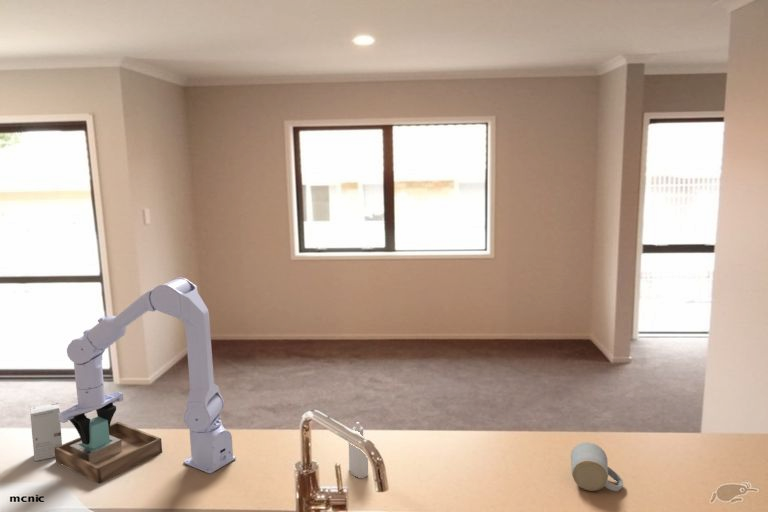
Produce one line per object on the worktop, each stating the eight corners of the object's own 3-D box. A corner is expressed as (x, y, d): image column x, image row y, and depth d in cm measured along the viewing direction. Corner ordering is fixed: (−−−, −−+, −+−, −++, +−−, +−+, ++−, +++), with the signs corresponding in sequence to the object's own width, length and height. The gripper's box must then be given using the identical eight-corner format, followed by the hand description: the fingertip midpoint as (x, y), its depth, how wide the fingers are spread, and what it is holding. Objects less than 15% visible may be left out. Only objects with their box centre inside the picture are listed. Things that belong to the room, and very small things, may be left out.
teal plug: (110, 447, 129) (107, 420, 128) (93, 454, 126) (91, 426, 125) (100, 443, 131) (98, 416, 130) (84, 450, 128) (81, 422, 127)
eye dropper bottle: (368, 465, 125) (367, 416, 123) (368, 479, 119) (367, 428, 117) (349, 466, 125) (348, 417, 123) (348, 479, 119) (347, 428, 117)
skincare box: (34, 462, 128) (28, 414, 126) (34, 454, 132) (28, 407, 130) (64, 454, 131) (59, 407, 129) (63, 447, 135) (58, 401, 133)
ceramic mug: (570, 490, 114) (573, 456, 113) (569, 470, 122) (571, 438, 120) (624, 499, 111) (627, 465, 110) (620, 478, 119) (622, 446, 117)
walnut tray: (162, 451, 132) (161, 438, 132) (99, 483, 119) (97, 468, 118) (118, 434, 141) (117, 421, 141) (55, 461, 128) (54, 448, 127)
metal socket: (122, 451, 130) (121, 439, 130) (89, 466, 124) (88, 454, 123) (103, 443, 135) (102, 431, 134) (70, 457, 128) (69, 445, 127)
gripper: (109, 372, 135) (114, 423, 137) (49, 392, 123) (55, 447, 125) (126, 377, 131) (130, 429, 133) (65, 398, 119) (71, 455, 121)
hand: (95, 439), depth 129 cm, fingers closed on teal plug, 4 cm apart
